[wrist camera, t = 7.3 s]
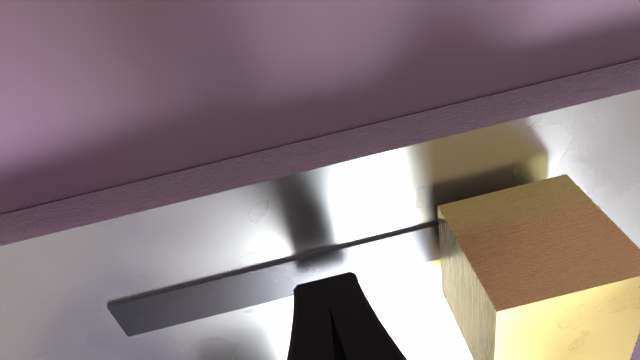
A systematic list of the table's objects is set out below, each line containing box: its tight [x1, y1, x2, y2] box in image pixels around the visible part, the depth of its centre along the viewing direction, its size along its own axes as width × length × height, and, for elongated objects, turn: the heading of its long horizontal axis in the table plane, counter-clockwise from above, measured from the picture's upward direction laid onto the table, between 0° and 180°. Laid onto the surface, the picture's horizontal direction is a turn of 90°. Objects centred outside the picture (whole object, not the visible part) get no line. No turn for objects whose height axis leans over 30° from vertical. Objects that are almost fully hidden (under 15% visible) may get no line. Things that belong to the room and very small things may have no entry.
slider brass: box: [437, 174, 640, 360], centre depth 11 cm, size 3×3×3 cm
